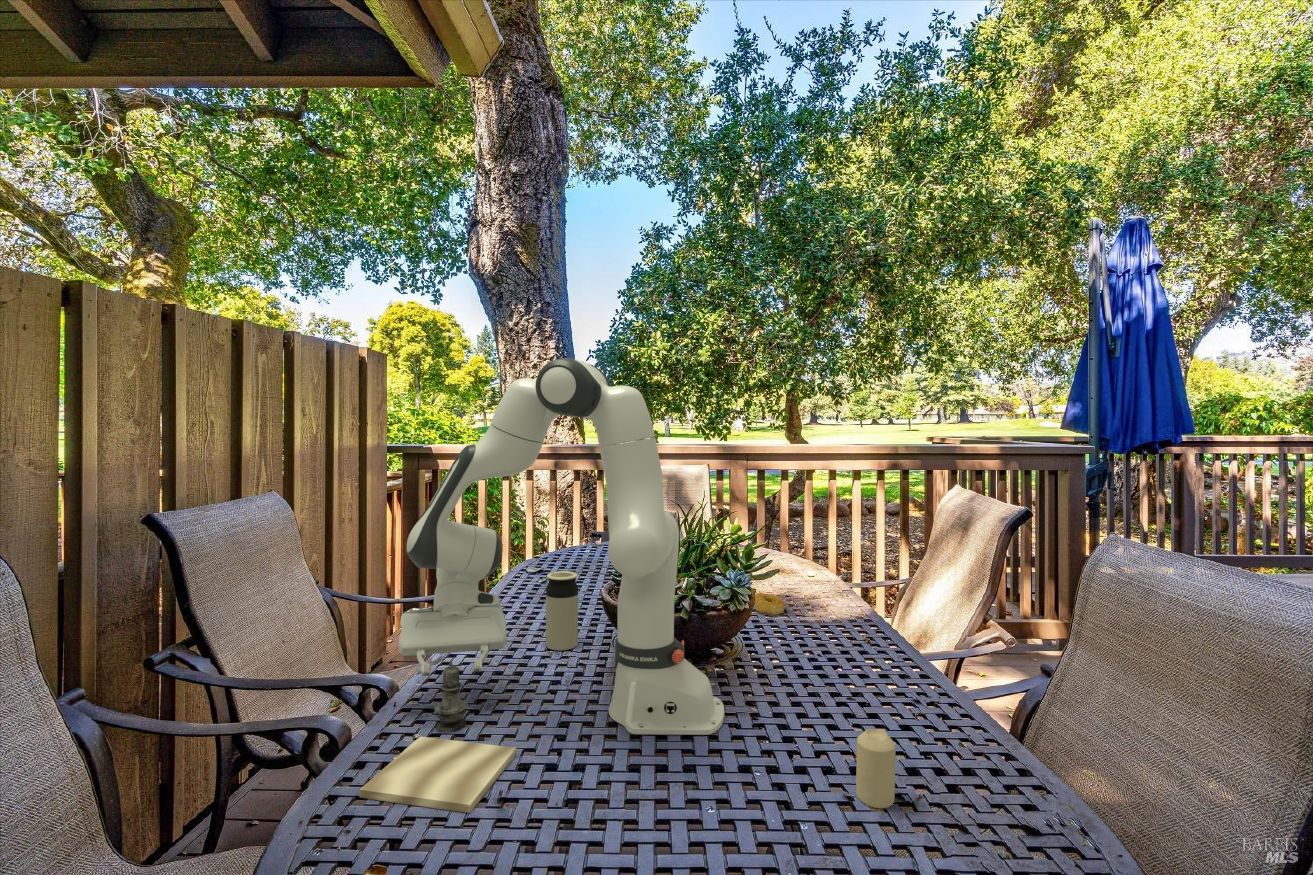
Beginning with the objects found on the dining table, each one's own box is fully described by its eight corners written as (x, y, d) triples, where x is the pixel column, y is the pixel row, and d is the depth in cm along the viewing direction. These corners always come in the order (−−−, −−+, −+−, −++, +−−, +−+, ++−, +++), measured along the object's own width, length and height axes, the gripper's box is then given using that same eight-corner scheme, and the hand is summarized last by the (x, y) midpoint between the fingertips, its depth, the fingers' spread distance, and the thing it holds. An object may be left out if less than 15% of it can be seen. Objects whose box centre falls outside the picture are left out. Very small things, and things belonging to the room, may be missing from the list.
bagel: (762, 617, 180) (762, 601, 180) (746, 606, 191) (746, 591, 190) (792, 615, 183) (793, 598, 183) (775, 604, 193) (775, 589, 193)
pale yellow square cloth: (516, 754, 105) (516, 747, 105) (470, 812, 90) (469, 804, 90) (420, 743, 109) (420, 736, 109) (359, 797, 93) (359, 789, 93)
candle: (876, 813, 90) (877, 745, 90) (848, 792, 95) (849, 728, 95) (902, 802, 93) (903, 736, 93) (874, 783, 98) (875, 720, 97)
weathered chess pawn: (457, 734, 112) (457, 668, 112) (428, 731, 113) (427, 666, 113) (473, 719, 118) (473, 656, 117) (445, 716, 119) (445, 654, 119)
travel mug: (575, 651, 152) (575, 578, 152) (543, 651, 153) (543, 578, 152) (580, 640, 160) (580, 570, 160) (549, 639, 160) (549, 570, 160)
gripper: (399, 601, 122) (390, 670, 113) (506, 595, 127) (506, 661, 118) (403, 616, 127) (395, 684, 118) (506, 610, 131) (506, 674, 122)
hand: (452, 672), depth 118 cm, fingers open, 8 cm apart
